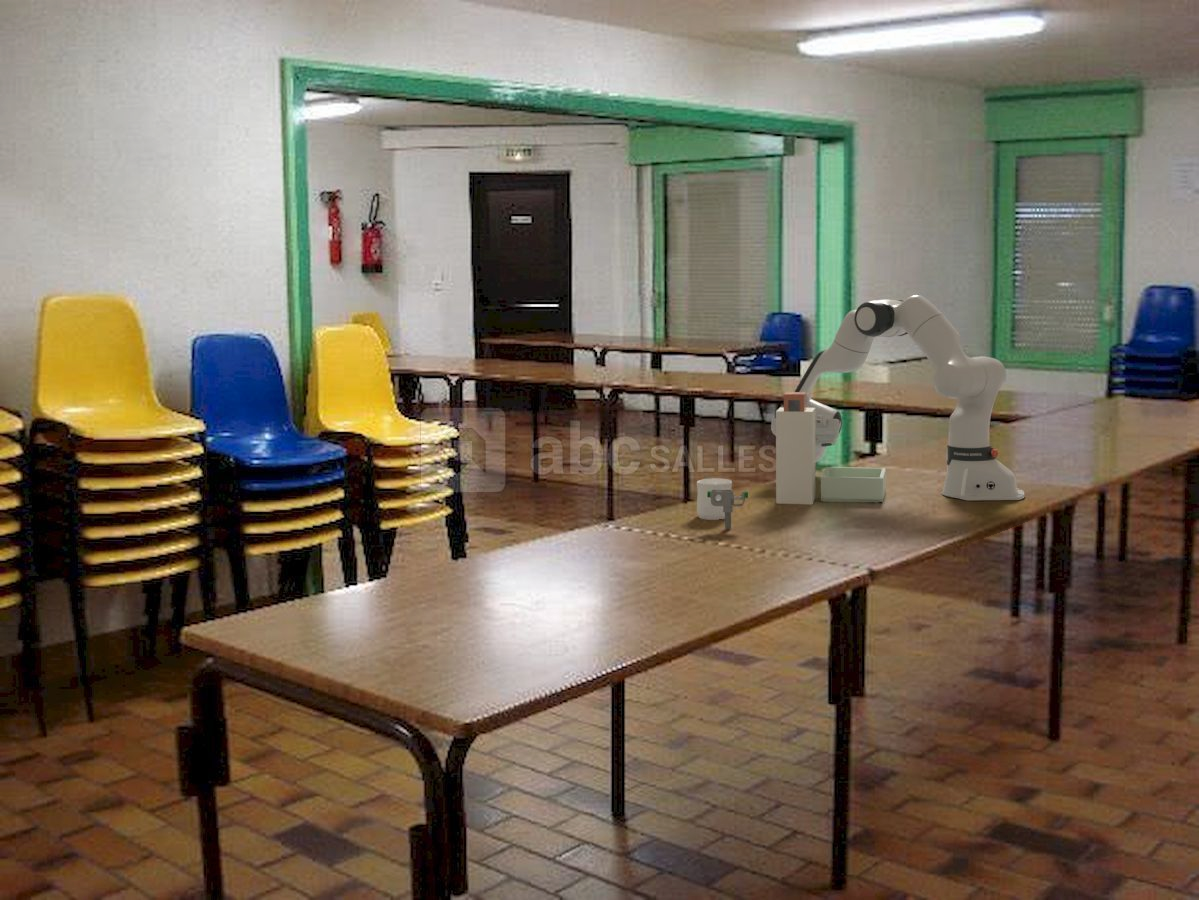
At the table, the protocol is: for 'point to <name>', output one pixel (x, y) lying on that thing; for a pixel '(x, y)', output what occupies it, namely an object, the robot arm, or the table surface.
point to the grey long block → (794, 401)
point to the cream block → (795, 457)
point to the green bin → (853, 484)
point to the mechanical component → (726, 502)
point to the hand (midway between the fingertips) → (803, 417)
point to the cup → (704, 502)
